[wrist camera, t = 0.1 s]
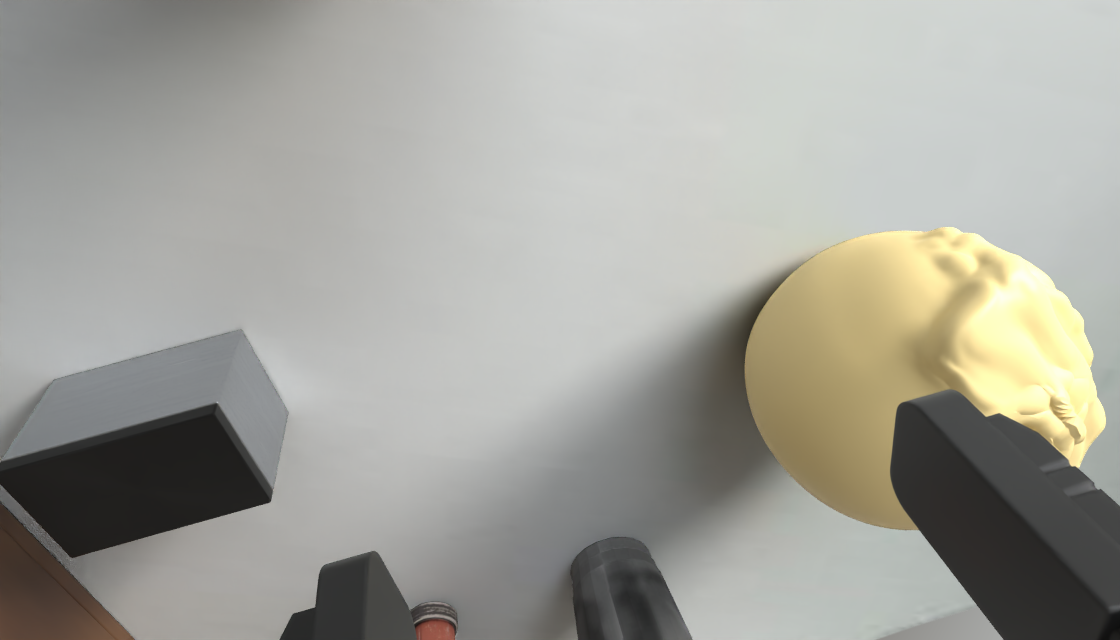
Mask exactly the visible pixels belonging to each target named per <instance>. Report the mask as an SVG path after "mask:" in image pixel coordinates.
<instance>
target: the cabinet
mask: <svg viewBox="0 0 1120 640" xmlns="http://www.w3.org/2000/svg"><path fill="white" fill-rule="evenodd" d="M0 640H135V639H134V638H133V637H132V636H131V635H130V634H129V633H128V632H127V631H126V630H125V629H124V628H123V627H122V626H121V625H120V624H119V623H118V622H117V621H116V620H115V619H114V618H113V617H112V616H111V615H110V614H109V613H108V612H107V611H106V610H105V609H104V608H103V607H102V606H101V605H100V604H99V603H98V602H97V600H96V599H95V598H94V597H93V596H92V595H91V594H90V593H89V592H88V591H87V590H86V589H85V588H84V587H83V586H82V585H81V584H80V583H79V582H78V581H77V580H76V579H75V578H74V577H73V576H72V575H71V574H70V573H69V572H68V571H67V570H66V569H65V568H64V567H63V566H62V565H61V564H60V563H59V562H58V561H57V560H56V559H55V558H54V557H53V556H52V555H51V554H50V553H49V552H48V551H47V550H46V549H45V548H44V547H43V546H42V545H41V544H40V543H39V542H38V541H37V540H36V539H35V538H34V536H33V535H32V534H31V533H30V532H29V531H28V530H27V529H26V528H25V527H24V526H23V525H22V524H21V523H20V522H19V521H18V520H17V519H16V518H15V517H14V516H13V515H12V514H11V513H10V512H9V511H8V510H7V509H6V508H5V507H4V506H3V505H2V504H1V503H0Z"/></svg>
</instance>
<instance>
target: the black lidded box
mask: <svg viewBox="0 0 1120 640" xmlns="http://www.w3.org/2000/svg"><path fill="white" fill-rule="evenodd" d="M287 418H288V411H287V409H286V407H285V405H284V403H283V402H282V400H281V398H280V396H279V395H278V393H277V391H276V389H275V388H274V386H273V384H272V382H271V380H270V379H269V377H268V375H267V373H266V372H265V370H264V368H263V366H262V365H261V363H260V361H259V359H258V357H257V356H256V354H255V352H254V350H253V349H252V347H251V345H250V343H249V342H248V340H247V338H246V336H245V334H244V333H243V331H242V330H237V331H233V332H230V333H226V334H222V335H218V336H215V337H211V338H207V339H203V340H200V341H196V342H192V343H189V344H185V345H181V346H177V347H174V348H170V349H166V350H162V351H159V352H155V353H151V354H148V355H144V356H140V357H136V358H133V359H129V360H125V361H121V362H118V363H114V364H110V365H106V366H103V367H99V368H95V369H92V370H88V371H84V372H80V373H77V374H73V375H69V376H65V377H62V378H58V379H55V380H53V382H52V383H51V385H50V386H49V388H48V389H47V391H46V392H45V394H44V395H43V397H42V398H41V400H40V401H39V403H38V404H37V406H36V408H35V409H34V411H33V412H32V414H31V415H30V417H29V418H28V420H27V421H26V423H25V424H24V426H23V427H22V429H21V430H20V432H19V433H18V435H17V436H16V438H15V440H14V441H13V443H12V444H11V446H10V447H9V449H8V450H7V452H6V453H5V455H4V456H3V458H2V459H1V462H0V484H1V485H2V486H3V487H4V488H5V489H6V490H7V491H8V492H9V493H10V495H11V496H12V497H13V498H14V499H15V500H16V501H17V502H18V503H19V504H20V505H21V506H22V507H23V508H24V509H25V510H26V511H27V512H28V513H29V514H30V515H31V516H32V517H33V518H34V519H35V521H36V522H37V523H38V524H39V525H40V526H41V527H42V528H43V529H44V530H45V531H46V532H47V533H48V534H49V535H50V536H51V537H52V538H53V539H54V540H55V541H56V542H57V543H58V544H59V545H60V546H61V548H62V549H63V550H64V551H65V552H66V553H67V554H68V555H69V556H70V557H72V558H73V557H77V556H81V555H84V554H88V553H91V552H95V551H98V550H102V549H106V548H109V547H113V546H116V545H120V544H123V543H127V542H131V541H134V540H138V539H141V538H145V537H148V536H152V535H156V534H159V533H163V532H166V531H170V530H173V529H177V528H181V527H184V526H188V525H191V524H195V523H198V522H202V521H206V520H209V519H213V518H216V517H220V516H223V515H227V514H231V513H234V512H238V511H241V510H245V509H248V508H252V507H256V506H259V505H263V504H266V503H270V502H271V499H272V494H273V489H274V484H275V479H276V474H277V469H278V463H279V458H280V453H281V448H282V443H283V438H284V433H285V428H286V423H287Z"/></svg>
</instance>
